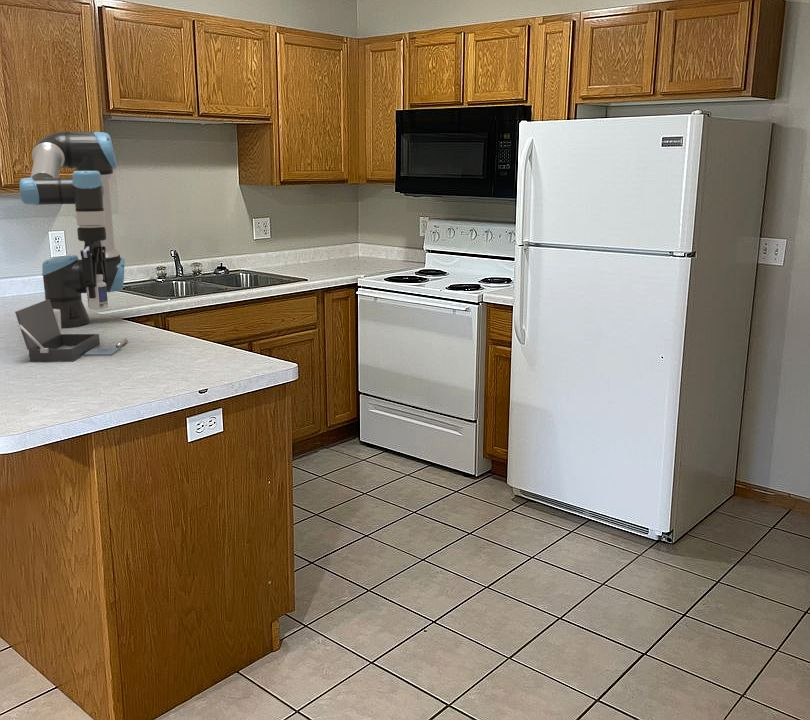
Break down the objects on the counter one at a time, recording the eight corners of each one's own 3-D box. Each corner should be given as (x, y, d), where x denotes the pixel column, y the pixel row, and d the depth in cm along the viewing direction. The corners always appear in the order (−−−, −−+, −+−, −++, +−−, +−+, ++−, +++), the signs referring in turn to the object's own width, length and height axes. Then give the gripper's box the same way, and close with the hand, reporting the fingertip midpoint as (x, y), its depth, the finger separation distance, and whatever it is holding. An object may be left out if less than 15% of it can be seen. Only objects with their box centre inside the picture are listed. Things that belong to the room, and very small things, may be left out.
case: (52, 345, 250) (47, 299, 246) (100, 345, 250) (95, 298, 246) (19, 362, 228) (13, 311, 224) (71, 362, 228) (66, 311, 225)
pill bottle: (110, 306, 239) (107, 273, 237) (104, 309, 234) (101, 275, 231) (92, 306, 239) (89, 273, 237) (85, 310, 234) (82, 276, 231)
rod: (124, 342, 253) (124, 339, 253) (128, 342, 253) (127, 339, 253) (115, 348, 245) (115, 344, 245) (119, 348, 245) (119, 344, 245)
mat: (93, 350, 243) (93, 348, 243) (120, 349, 243) (120, 347, 243) (83, 356, 235) (83, 354, 235) (111, 355, 235) (111, 353, 235)
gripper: (89, 224, 240) (96, 302, 245) (65, 228, 222) (73, 313, 227) (115, 224, 240) (121, 302, 245) (92, 228, 222) (100, 312, 227)
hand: (98, 307), depth 236 cm, fingers closed on pill bottle, 5 cm apart
